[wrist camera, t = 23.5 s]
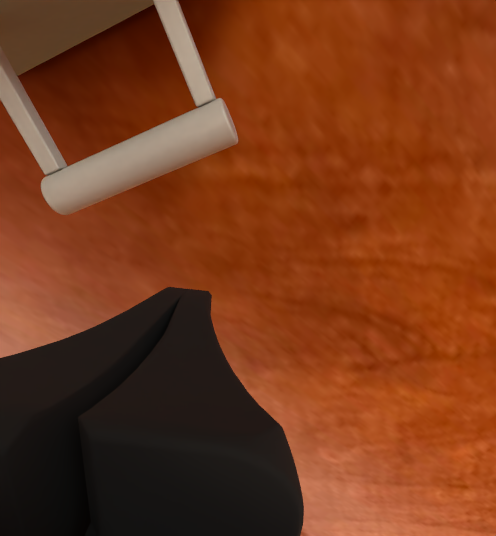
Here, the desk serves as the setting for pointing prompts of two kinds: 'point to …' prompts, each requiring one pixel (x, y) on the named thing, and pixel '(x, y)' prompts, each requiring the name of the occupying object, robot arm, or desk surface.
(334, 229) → the desk surface
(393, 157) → the desk surface
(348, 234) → the desk surface
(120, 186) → the drawer
